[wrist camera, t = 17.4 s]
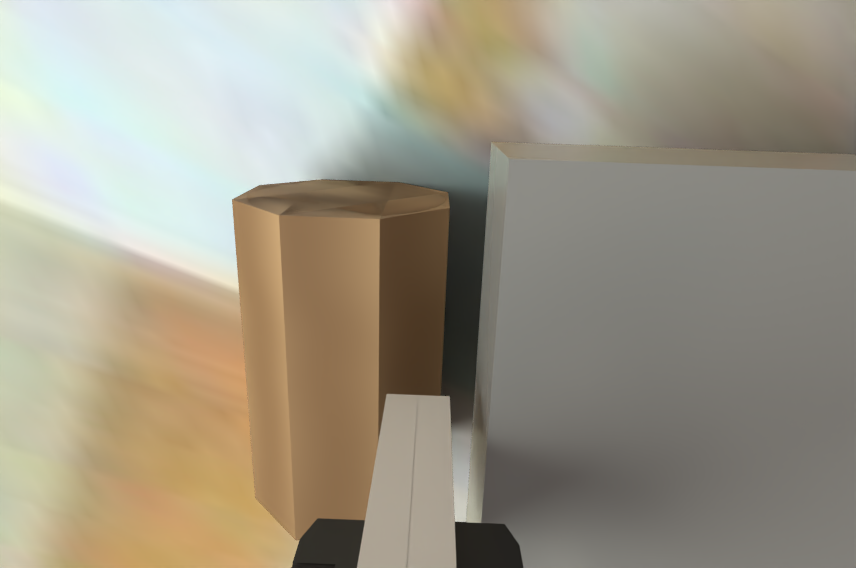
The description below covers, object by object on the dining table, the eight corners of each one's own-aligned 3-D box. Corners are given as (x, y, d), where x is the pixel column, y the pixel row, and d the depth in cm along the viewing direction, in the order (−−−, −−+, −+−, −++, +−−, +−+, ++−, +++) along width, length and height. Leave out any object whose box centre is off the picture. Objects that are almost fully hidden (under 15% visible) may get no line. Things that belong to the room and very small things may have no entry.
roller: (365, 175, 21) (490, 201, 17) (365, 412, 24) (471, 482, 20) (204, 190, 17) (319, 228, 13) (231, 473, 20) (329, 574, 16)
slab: (974, 620, 18) (1097, 743, 14) (460, 601, 18) (466, 718, 14) (1181, 165, 13) (1433, 191, 10) (491, 141, 13) (508, 159, 10)
